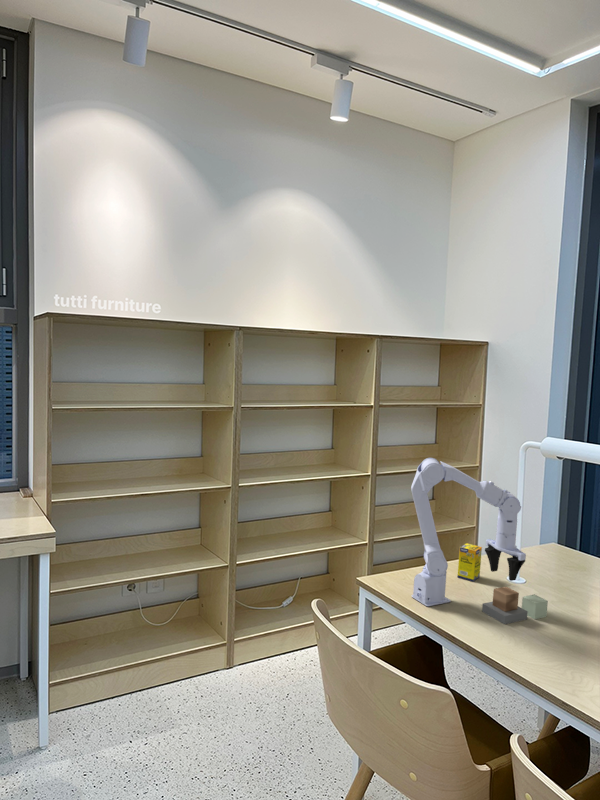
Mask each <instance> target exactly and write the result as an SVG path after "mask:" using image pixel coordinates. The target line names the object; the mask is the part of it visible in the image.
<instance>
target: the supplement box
mask: <svg viewBox="0 0 600 800" xmlns="http://www.w3.org/2000/svg"><path fill="white" fill-rule="evenodd" d="M482 550H483V547H482V546H479V545H474V544H472V543H468V542H467V543H464V544H463V545H461V546H459V551H458V552H459V553H458V566H457V567H458V568H457V578H458V579H463V580H465V581H469V582H473V583H474V582H475V581H476V580H477V579H479V578H480V576H481V563H482V560H481V559H482Z"/></svg>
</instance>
